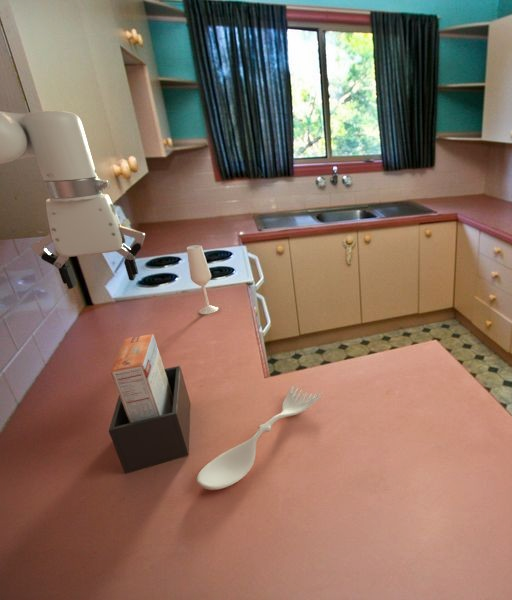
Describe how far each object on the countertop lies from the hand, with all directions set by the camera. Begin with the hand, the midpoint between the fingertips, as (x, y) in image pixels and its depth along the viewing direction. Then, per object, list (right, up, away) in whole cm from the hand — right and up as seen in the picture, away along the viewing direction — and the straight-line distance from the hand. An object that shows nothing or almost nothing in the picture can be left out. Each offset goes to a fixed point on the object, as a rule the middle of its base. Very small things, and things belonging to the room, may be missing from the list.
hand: (103, 282), depth 80 cm
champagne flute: (-15, -7, +76) cm, 78 cm away
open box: (+3, -33, +15) cm, 37 cm away
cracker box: (+3, -33, +14) cm, 36 cm away
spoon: (+27, -34, +12) cm, 45 cm away
